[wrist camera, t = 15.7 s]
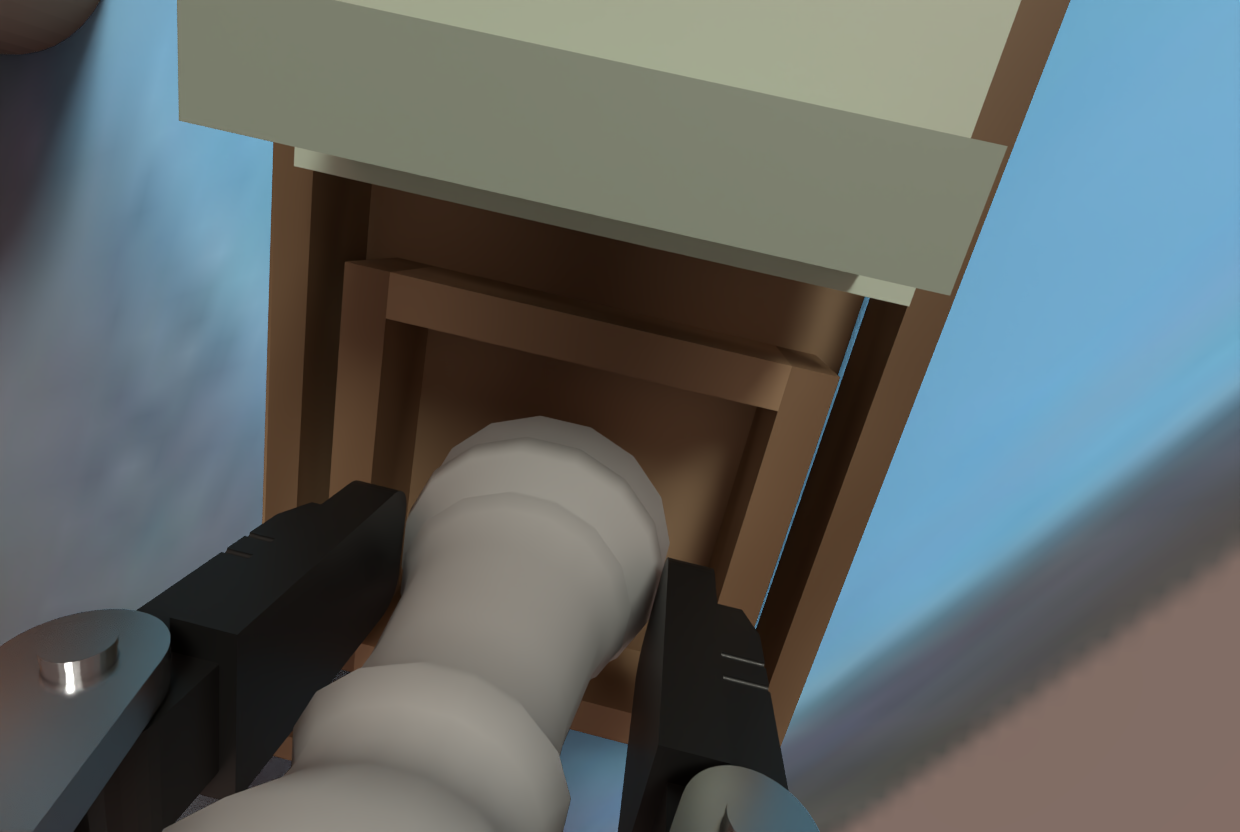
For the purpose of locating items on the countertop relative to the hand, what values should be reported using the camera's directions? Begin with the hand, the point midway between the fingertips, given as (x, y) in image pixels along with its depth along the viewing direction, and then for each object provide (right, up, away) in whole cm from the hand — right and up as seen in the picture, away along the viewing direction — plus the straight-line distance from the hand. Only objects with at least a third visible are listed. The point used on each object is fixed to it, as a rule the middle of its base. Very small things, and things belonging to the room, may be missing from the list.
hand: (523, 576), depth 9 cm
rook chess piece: (0, +1, +2) cm, 2 cm away
